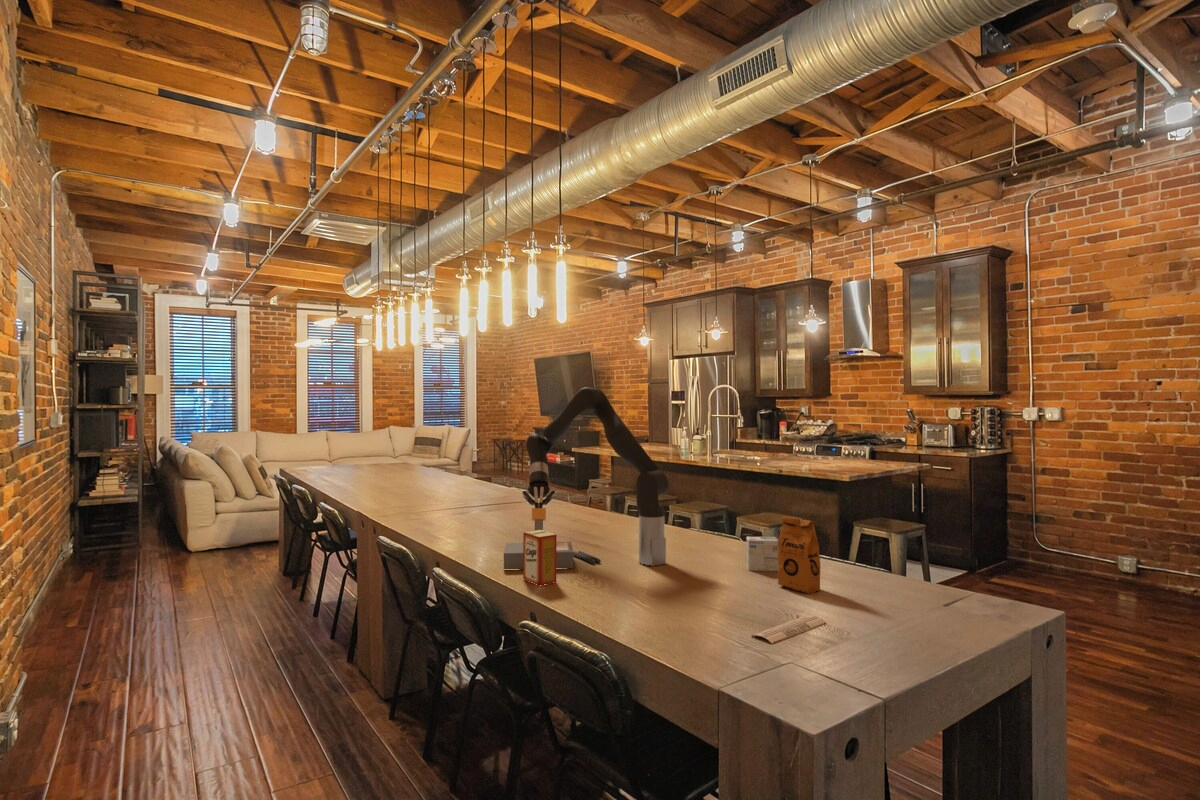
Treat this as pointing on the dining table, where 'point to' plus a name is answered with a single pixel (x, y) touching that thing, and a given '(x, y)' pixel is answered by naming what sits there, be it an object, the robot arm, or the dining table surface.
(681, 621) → the dining table surface
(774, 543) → the light bulb box
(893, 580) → the dining table surface
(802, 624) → the newspaper
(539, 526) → the breaker lever
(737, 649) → the dining table surface
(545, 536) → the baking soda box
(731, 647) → the dining table surface
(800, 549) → the coffee package
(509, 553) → the breaker block
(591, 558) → the dark grey ridged bar
